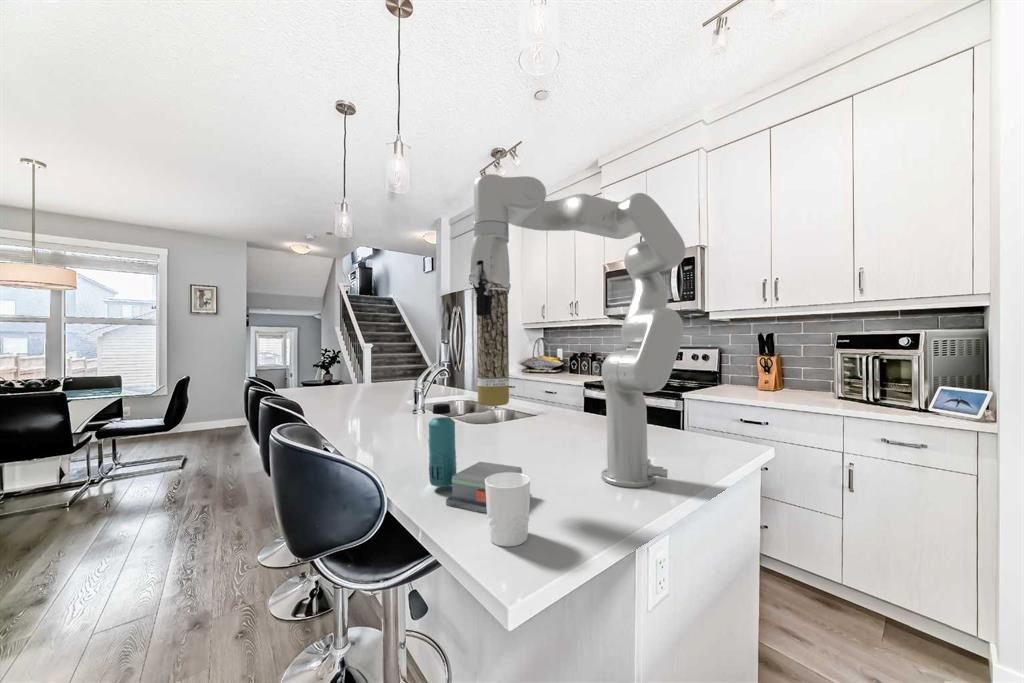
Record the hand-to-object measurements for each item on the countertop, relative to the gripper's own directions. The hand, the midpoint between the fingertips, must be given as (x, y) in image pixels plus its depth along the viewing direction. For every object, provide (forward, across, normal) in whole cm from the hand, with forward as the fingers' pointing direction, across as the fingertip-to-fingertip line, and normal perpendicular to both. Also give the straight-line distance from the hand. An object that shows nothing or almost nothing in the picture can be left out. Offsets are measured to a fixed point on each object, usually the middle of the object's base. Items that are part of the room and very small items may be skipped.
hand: (492, 315), depth 84 cm
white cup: (+40, +13, +10) cm, 43 cm away
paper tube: (+19, 0, 0) cm, 19 cm away
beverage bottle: (+40, -2, -15) cm, 43 cm away
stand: (+40, 0, -2) cm, 40 cm away
